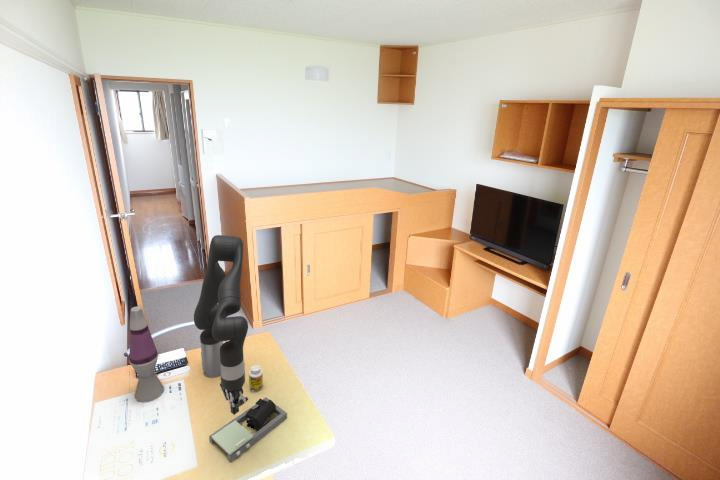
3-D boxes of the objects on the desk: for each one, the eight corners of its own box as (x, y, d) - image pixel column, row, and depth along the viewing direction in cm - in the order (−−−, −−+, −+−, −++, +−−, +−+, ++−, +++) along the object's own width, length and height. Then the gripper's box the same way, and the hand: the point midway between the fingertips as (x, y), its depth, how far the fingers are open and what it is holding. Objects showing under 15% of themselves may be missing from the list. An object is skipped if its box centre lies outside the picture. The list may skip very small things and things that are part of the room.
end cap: (260, 434, 140) (260, 420, 138) (245, 427, 143) (244, 413, 140) (276, 415, 149) (276, 401, 147) (261, 408, 152) (261, 395, 149)
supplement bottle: (249, 392, 159) (248, 373, 156) (249, 383, 164) (248, 364, 161) (262, 391, 160) (262, 371, 157) (262, 382, 165) (262, 363, 162)
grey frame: (209, 441, 136) (209, 436, 135) (266, 401, 155) (266, 396, 154) (231, 463, 128) (231, 458, 128) (288, 418, 148) (288, 413, 147)
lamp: (162, 399, 153) (149, 314, 139) (132, 404, 149) (116, 317, 135) (165, 381, 162) (154, 299, 148) (137, 385, 158) (122, 303, 144)
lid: (209, 436, 135) (209, 433, 134) (233, 420, 142) (233, 417, 142) (229, 455, 128) (229, 452, 128) (253, 437, 135) (253, 434, 135)
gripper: (255, 375, 121) (256, 416, 127) (230, 356, 128) (232, 396, 135) (234, 387, 115) (237, 429, 122) (210, 367, 123) (213, 408, 129)
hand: (234, 412), depth 128 cm, fingers closed
